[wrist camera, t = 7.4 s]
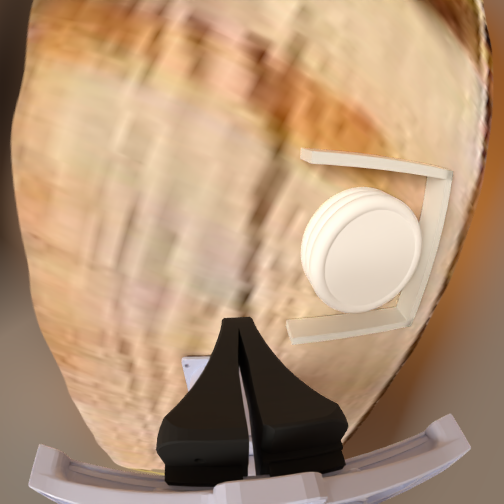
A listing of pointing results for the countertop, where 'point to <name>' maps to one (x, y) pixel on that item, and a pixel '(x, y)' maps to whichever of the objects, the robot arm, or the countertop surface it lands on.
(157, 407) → the countertop surface
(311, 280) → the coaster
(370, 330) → the sorting bin
